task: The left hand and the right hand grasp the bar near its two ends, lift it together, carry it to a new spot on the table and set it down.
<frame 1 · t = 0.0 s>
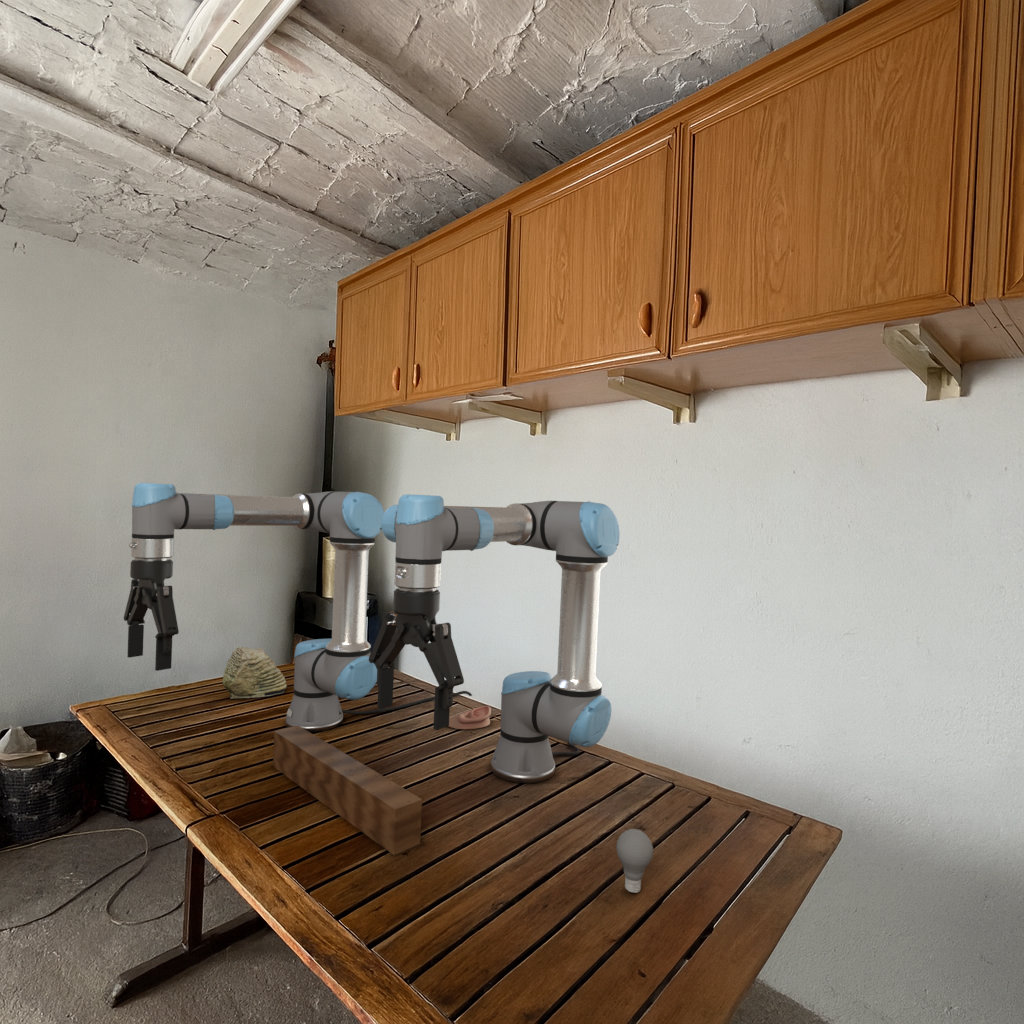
left hand: (148, 662, 129), 28 cm above the table, tool pointing down, fingers open, 13 cm apart
right hand: (411, 717, 104), 28 cm above the table, tool pointing down, fingers open, 13 cm apart
bar: (338, 800, 132), on the table
fossil: (254, 694, 198), on the table
anatomical model: (466, 723, 181), on the table
light bulb: (632, 891, 106), on the table
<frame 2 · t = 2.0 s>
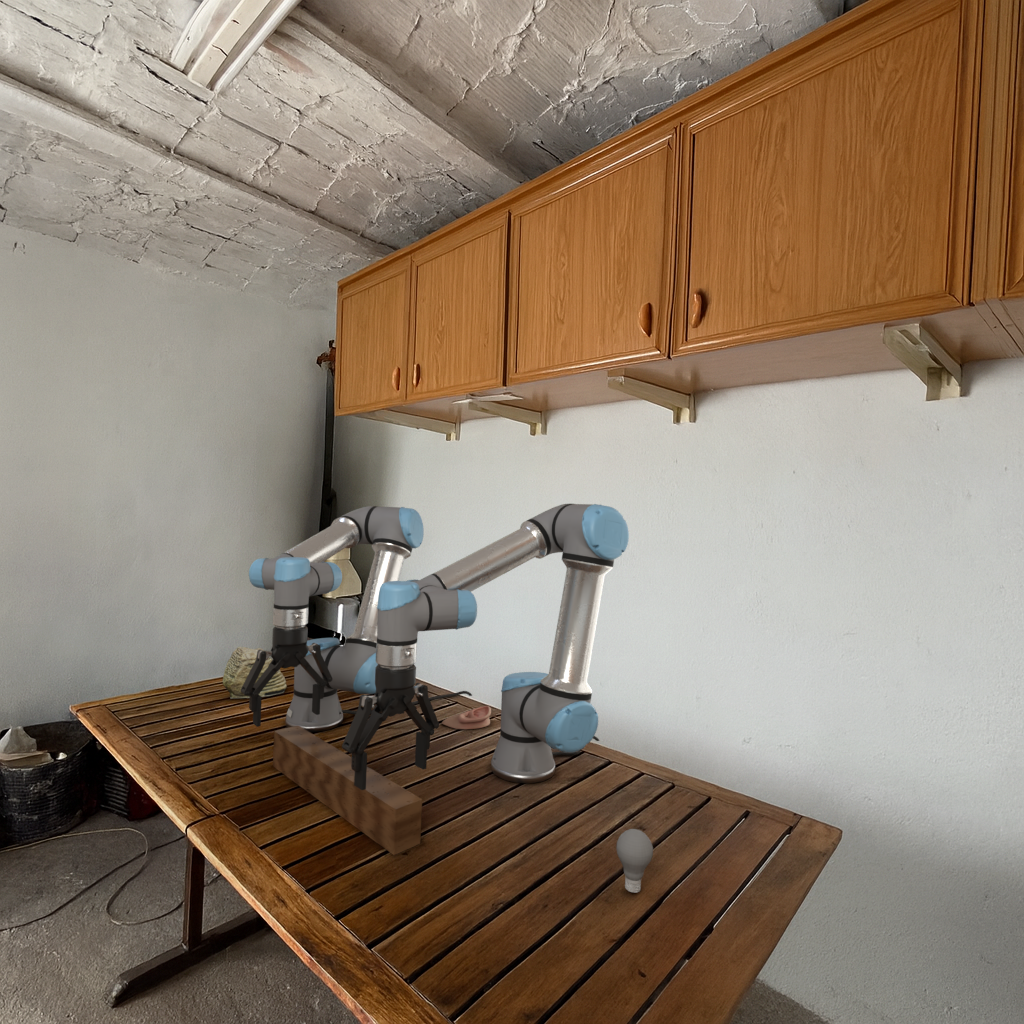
left hand: (287, 718, 144), 12 cm above the table, tool pointing down, fingers open, 13 cm apart
right hand: (391, 776, 119), 11 cm above the table, tool pointing down, fingers open, 13 cm apart
nothing on the table moved.
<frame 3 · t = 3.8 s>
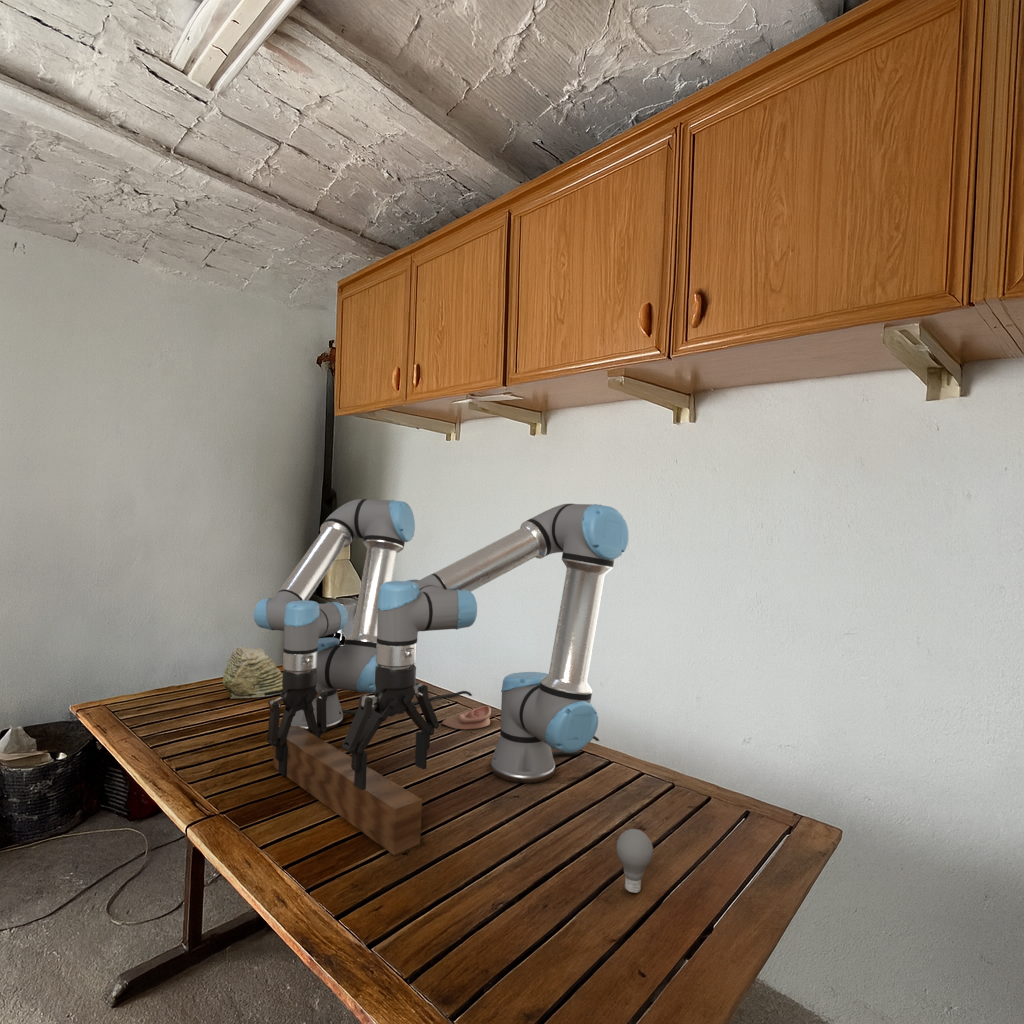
left hand: (296, 769, 145), 0 cm above the table, tool pointing down, fingers closed on bar, 6 cm apart
right hand: (391, 776, 119), 11 cm above the table, tool pointing down, fingers open, 13 cm apart
bar: (338, 800, 132), on the table, touching left hand
everything else where it was.
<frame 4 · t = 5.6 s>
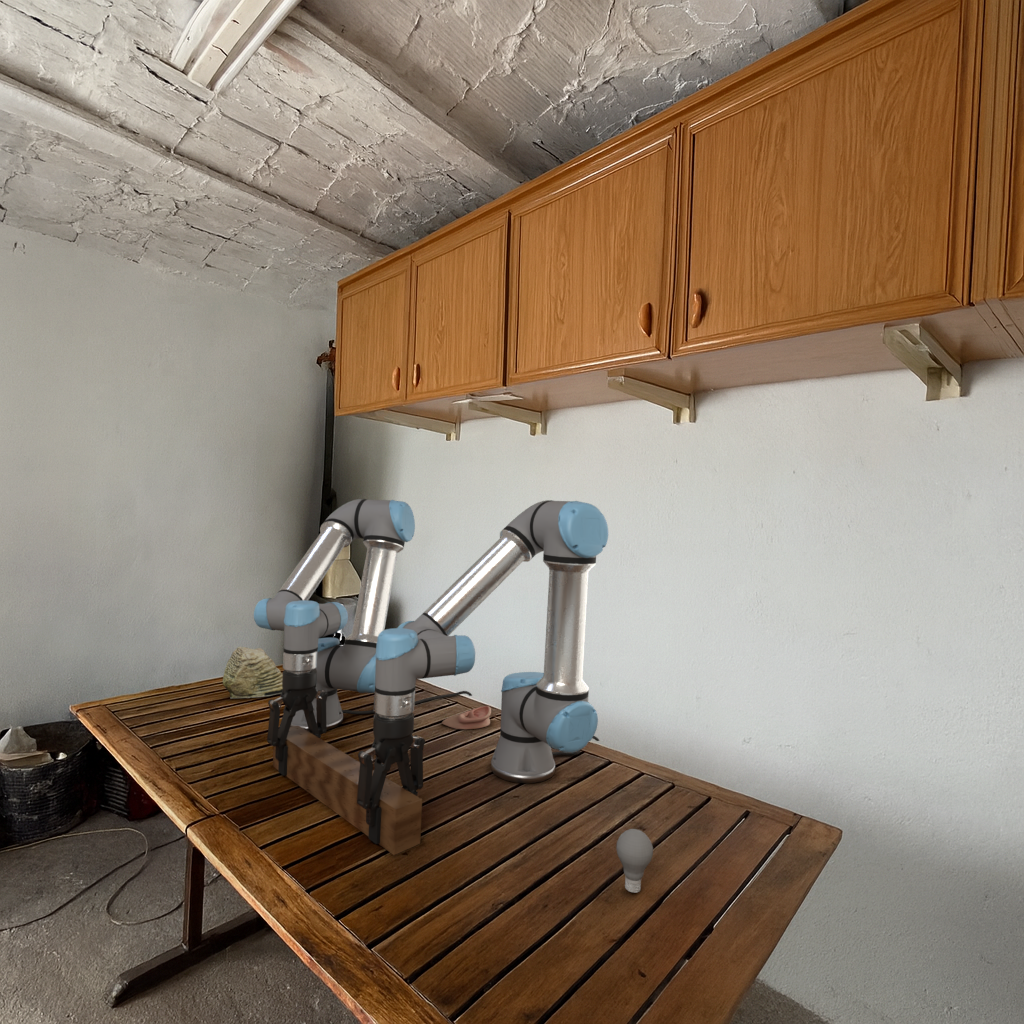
left hand: (296, 769, 145), 0 cm above the table, tool pointing down, fingers closed on bar, 6 cm apart
right hand: (389, 834, 119), 0 cm above the table, tool pointing down, fingers closed on bar, 6 cm apart
bar: (338, 800, 132), on the table, touching left hand, right hand
everything else where it was.
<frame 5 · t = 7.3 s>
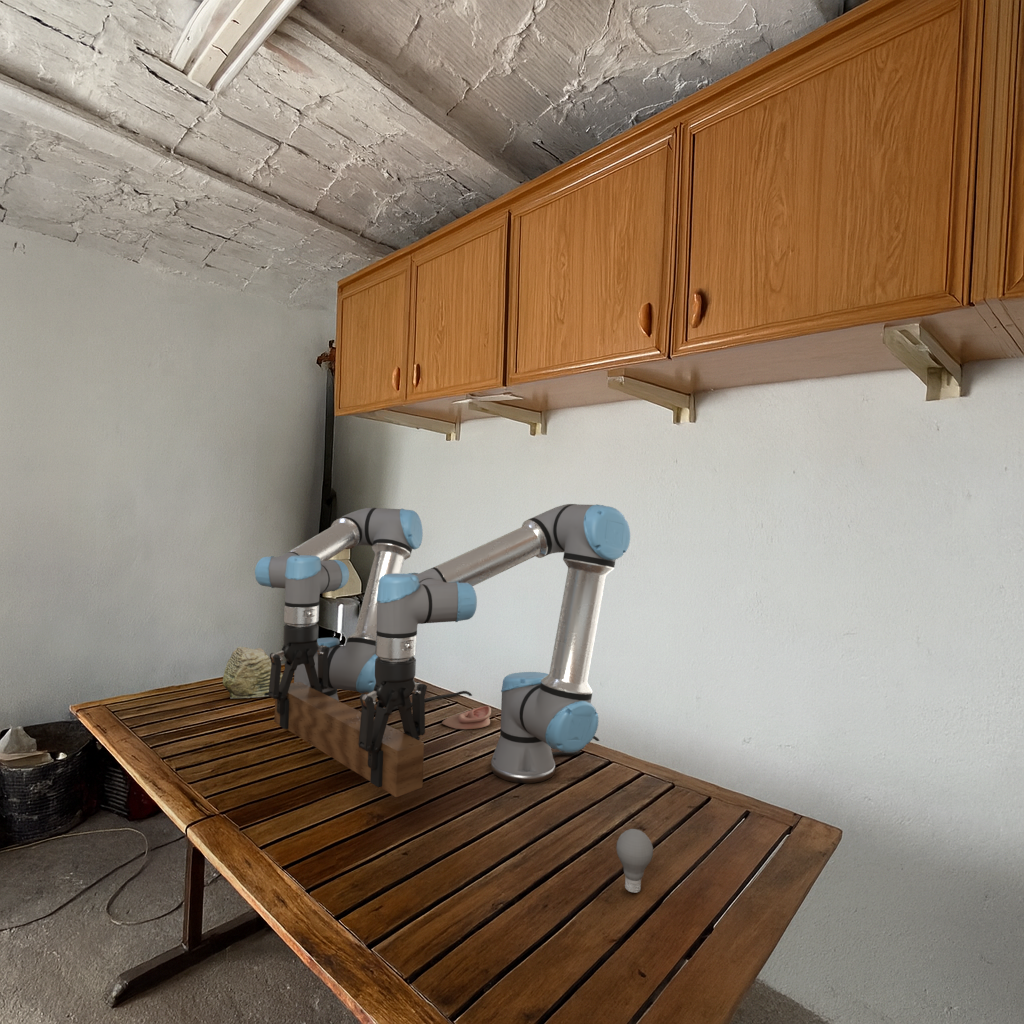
left hand: (297, 723, 145), 11 cm above the table, tool pointing down, fingers closed on bar, 6 cm apart
right hand: (391, 779, 119), 11 cm above the table, tool pointing down, fingers closed on bar, 6 cm apart
bar: (339, 750, 132), point 11 cm above the table, touching left hand, right hand
everything else where it was.
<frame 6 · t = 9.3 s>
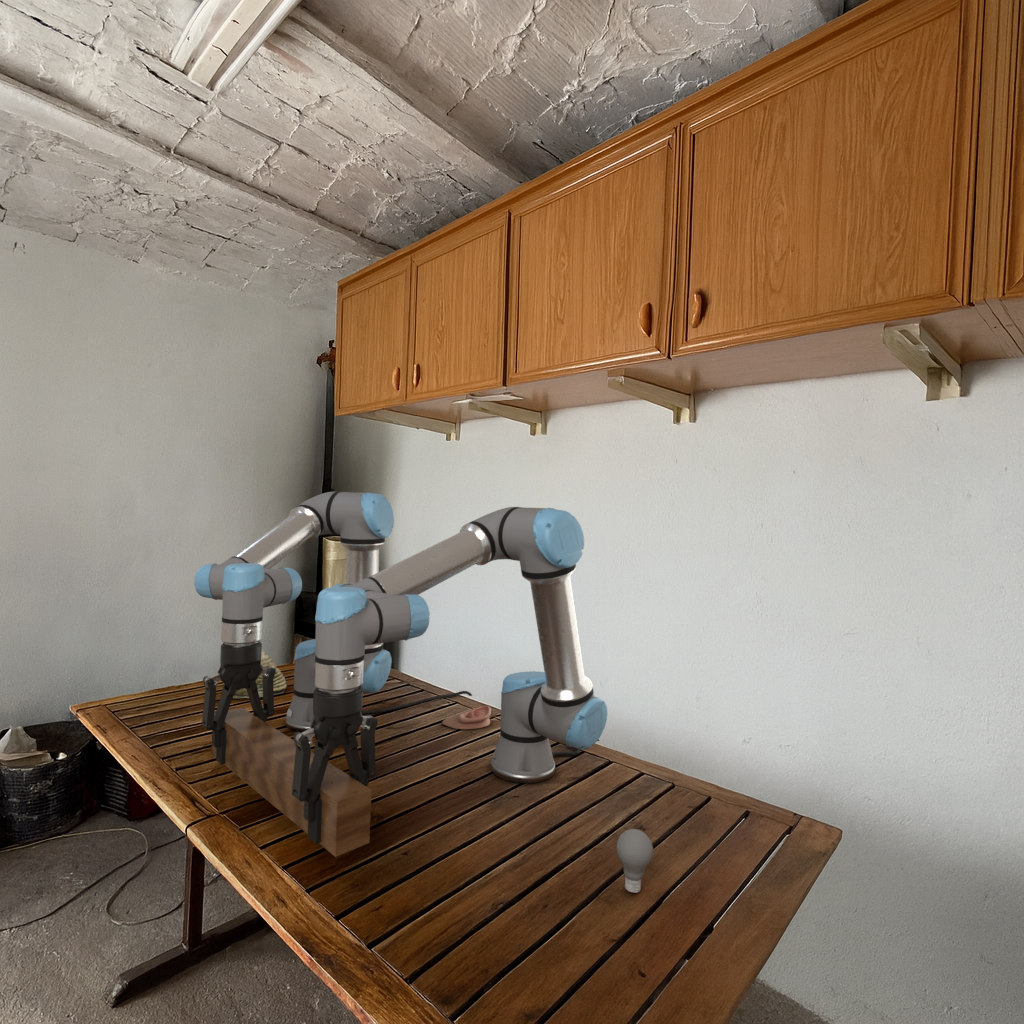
left hand: (237, 757, 126), 11 cm above the table, tool pointing down, fingers closed on bar, 6 cm apart
right hand: (333, 831, 100), 11 cm above the table, tool pointing down, fingers closed on bar, 6 cm apart
bar: (280, 792, 113), point 10 cm above the table, touching left hand, right hand
everything else where it was.
when the left hand's fingers open (2 cm above the table, at t = 10.9 s): bar drops 1 cm, on the table.
when the right hand's fingers open (2 cm above the table, at t = 10.9 s): bar drops 1 cm, on the table.
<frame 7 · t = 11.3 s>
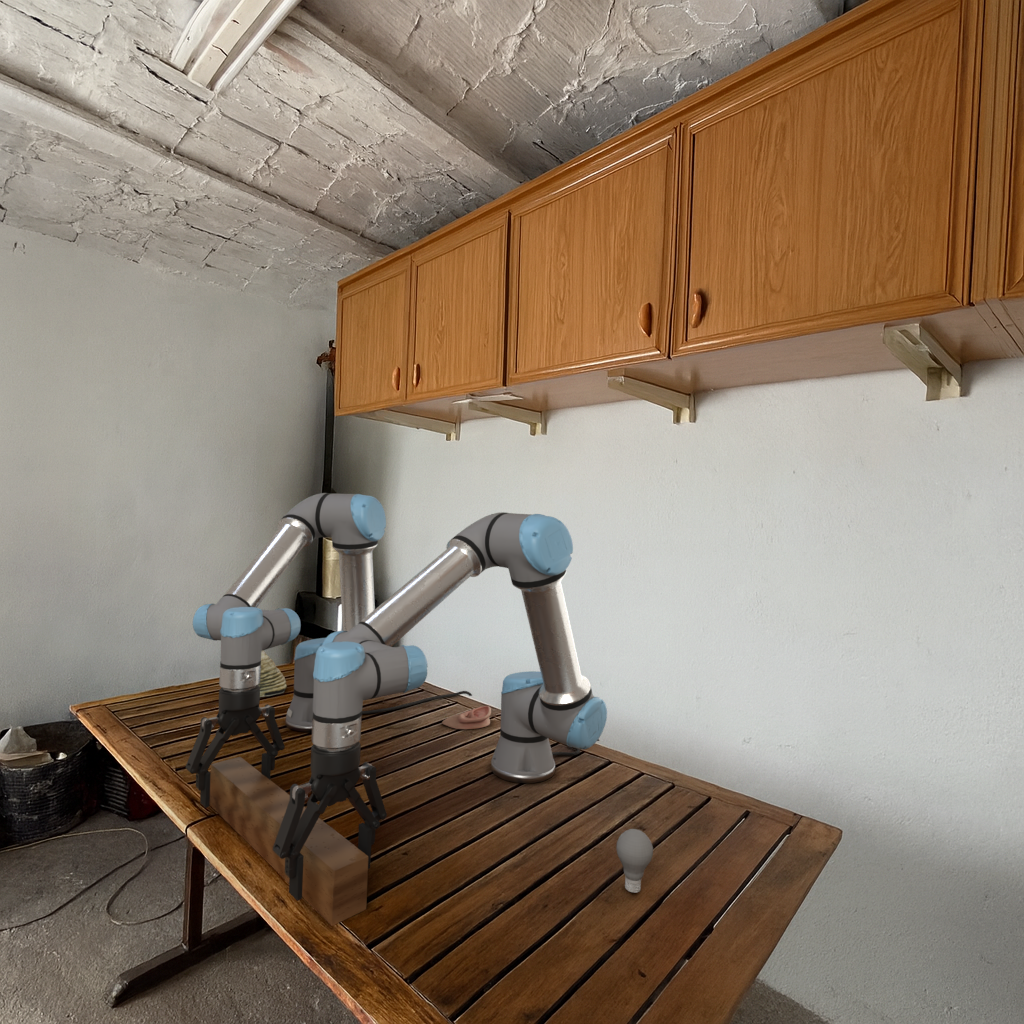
left hand: (236, 795, 126), 3 cm above the table, tool pointing down, fingers open, 11 cm apart
right hand: (331, 880, 100), 3 cm above the table, tool pointing down, fingers open, 11 cm apart
bar: (277, 850, 113), on the table
everything else where it was.
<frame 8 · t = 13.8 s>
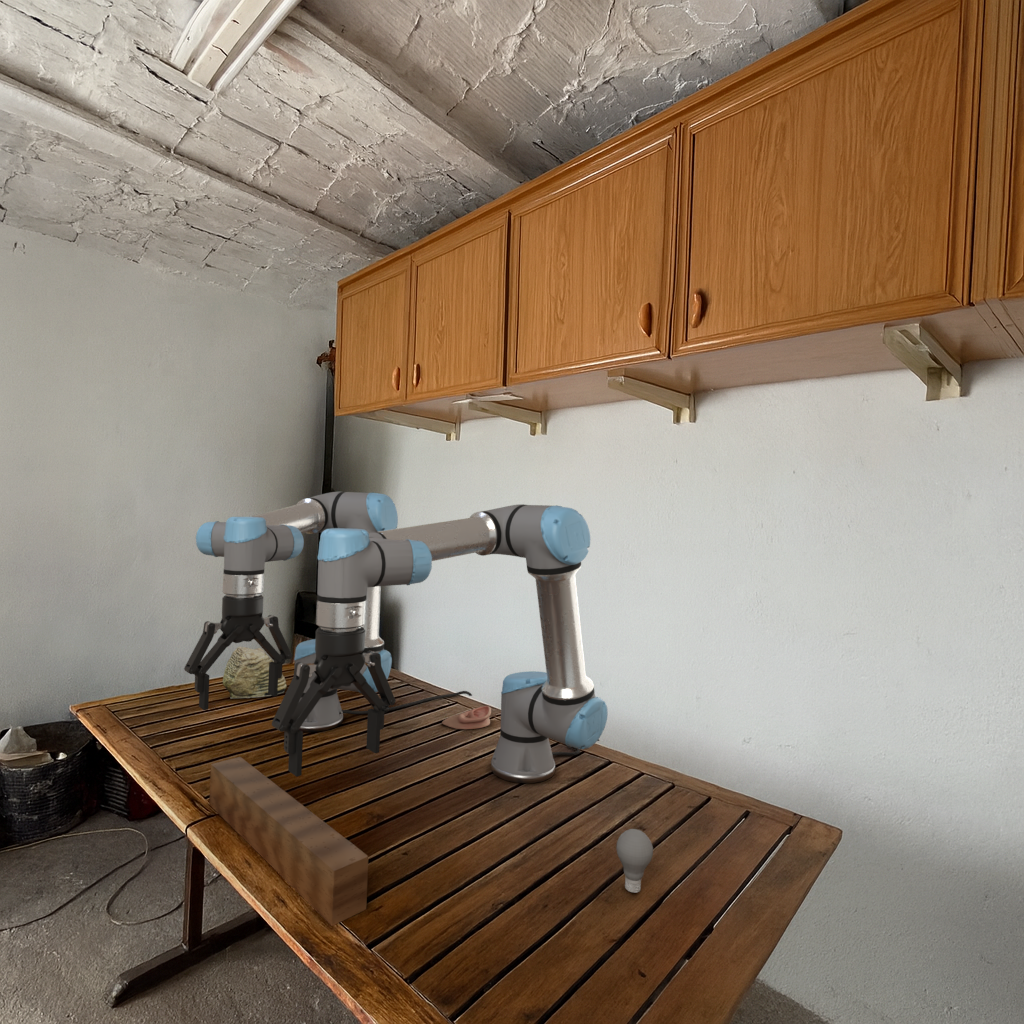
left hand: (239, 701, 126), 22 cm above the table, tool pointing down, fingers open, 13 cm apart
right hand: (335, 761, 100), 22 cm above the table, tool pointing down, fingers open, 13 cm apart
nothing on the table moved.
at the end: bar inside the target area (0.1 cm from its centre), on the table; bar tilted 0°; bar never tilted more than 2° during the clip; both hands held the bar at the same time; the left hand is holding nothing; the right hand is holding nothing; bar at rest at the end (0.0 cm/s) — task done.
